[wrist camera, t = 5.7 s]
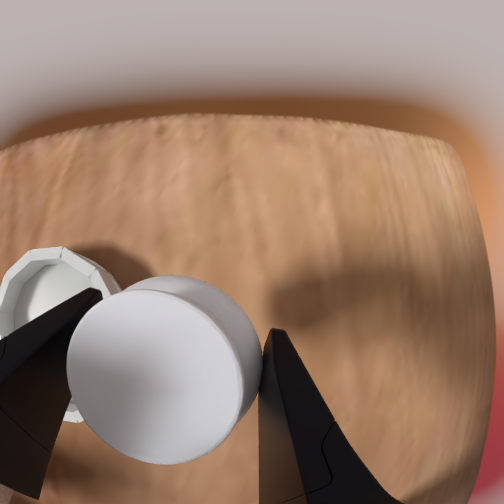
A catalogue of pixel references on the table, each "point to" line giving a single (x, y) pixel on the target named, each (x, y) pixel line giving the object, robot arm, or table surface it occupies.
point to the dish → (49, 290)
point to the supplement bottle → (164, 368)
